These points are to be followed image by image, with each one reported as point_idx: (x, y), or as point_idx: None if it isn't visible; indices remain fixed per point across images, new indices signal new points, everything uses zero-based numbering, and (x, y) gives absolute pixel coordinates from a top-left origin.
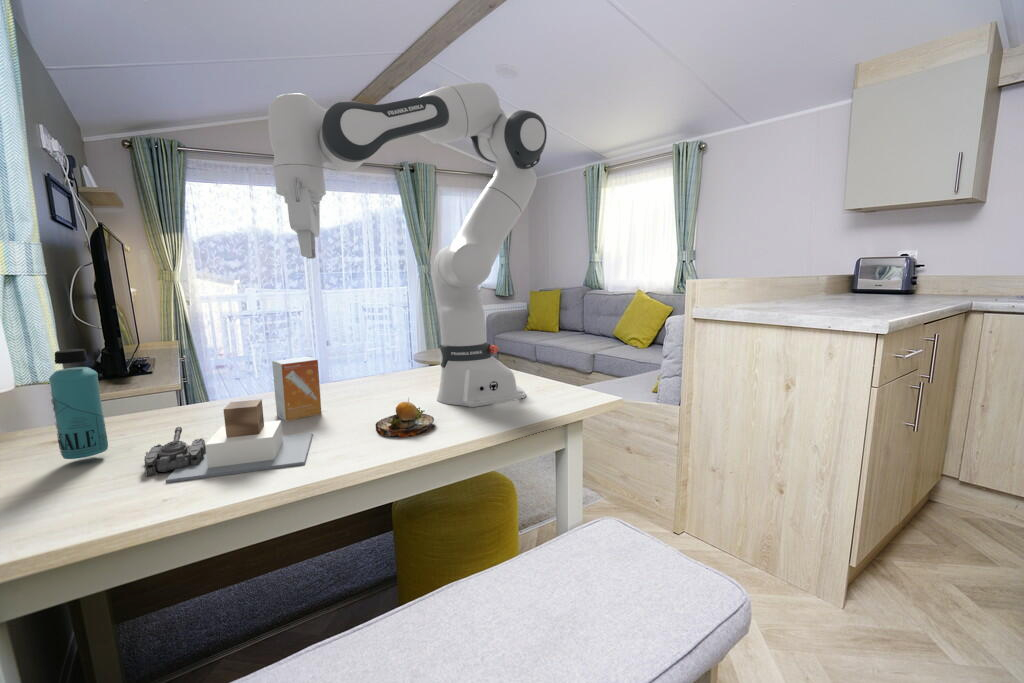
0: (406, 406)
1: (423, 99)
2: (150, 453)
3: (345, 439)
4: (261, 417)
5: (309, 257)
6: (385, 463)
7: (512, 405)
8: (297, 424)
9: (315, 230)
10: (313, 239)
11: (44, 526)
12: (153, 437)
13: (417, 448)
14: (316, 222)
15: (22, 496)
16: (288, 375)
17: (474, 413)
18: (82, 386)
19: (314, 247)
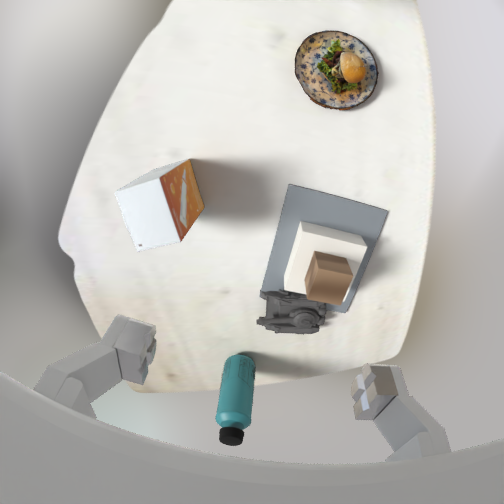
0: (362, 70)
1: None
2: (298, 332)
3: (334, 151)
4: (327, 260)
5: (154, 343)
6: (433, 142)
7: None
8: (225, 194)
9: (296, 476)
10: (82, 395)
11: (367, 355)
12: (194, 326)
13: (416, 95)
14: (29, 485)
15: (301, 374)
16: (184, 223)
17: None
18: (249, 410)
19: (104, 356)
